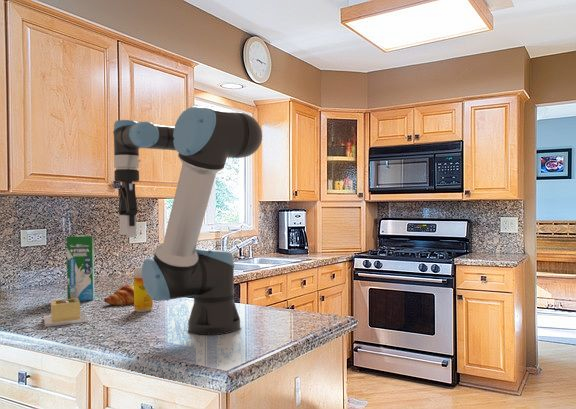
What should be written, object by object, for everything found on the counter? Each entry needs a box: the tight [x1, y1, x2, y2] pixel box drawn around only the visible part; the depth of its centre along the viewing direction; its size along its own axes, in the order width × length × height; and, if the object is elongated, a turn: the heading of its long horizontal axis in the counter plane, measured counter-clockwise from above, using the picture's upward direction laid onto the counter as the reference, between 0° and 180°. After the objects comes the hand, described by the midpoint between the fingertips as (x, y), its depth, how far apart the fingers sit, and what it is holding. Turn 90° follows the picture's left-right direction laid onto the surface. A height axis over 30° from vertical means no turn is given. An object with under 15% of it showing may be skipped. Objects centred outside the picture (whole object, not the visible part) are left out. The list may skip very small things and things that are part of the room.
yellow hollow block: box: [50, 298, 81, 321], centre depth 153 cm, size 8×8×5 cm
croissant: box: [103, 284, 134, 306], centre depth 181 cm, size 21×10×8 cm, turn 137°
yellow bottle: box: [133, 265, 154, 313], centre depth 166 cm, size 6×6×15 cm
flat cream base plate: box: [43, 301, 88, 328], centre depth 153 cm, size 12×12×6 cm
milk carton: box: [66, 234, 96, 302], centre depth 188 cm, size 9×9×25 cm
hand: (127, 235), depth 153 cm, fingers open, 13 cm apart
